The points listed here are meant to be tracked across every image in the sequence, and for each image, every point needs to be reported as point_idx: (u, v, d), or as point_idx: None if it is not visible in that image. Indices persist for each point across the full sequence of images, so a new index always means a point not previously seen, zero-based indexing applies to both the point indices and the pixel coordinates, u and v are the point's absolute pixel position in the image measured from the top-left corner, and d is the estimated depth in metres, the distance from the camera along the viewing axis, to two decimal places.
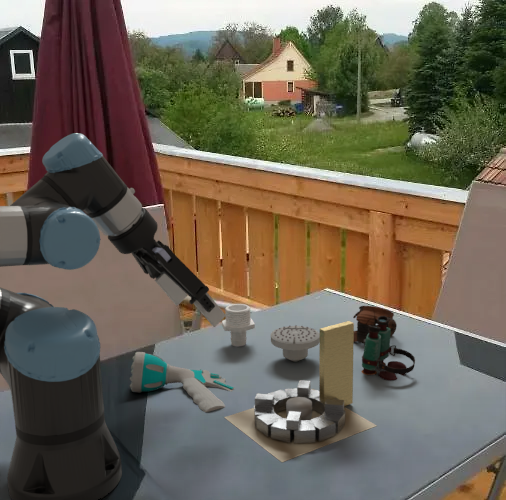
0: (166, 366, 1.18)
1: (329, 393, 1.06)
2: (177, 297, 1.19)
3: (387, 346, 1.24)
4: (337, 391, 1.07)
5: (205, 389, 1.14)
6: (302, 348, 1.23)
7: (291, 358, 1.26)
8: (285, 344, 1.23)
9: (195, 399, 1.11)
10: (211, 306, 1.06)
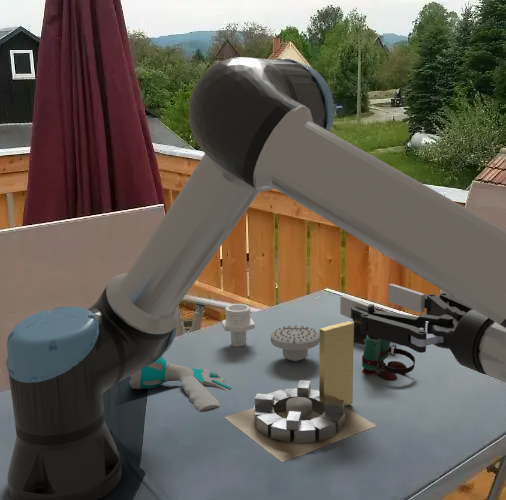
0: (166, 364, 1.19)
1: (329, 393, 1.06)
2: (394, 292, 0.98)
3: (387, 346, 1.24)
4: (337, 391, 1.07)
5: (202, 388, 1.15)
6: (302, 348, 1.23)
7: (291, 358, 1.26)
8: (285, 344, 1.23)
9: (191, 397, 1.12)
10: (353, 315, 0.91)
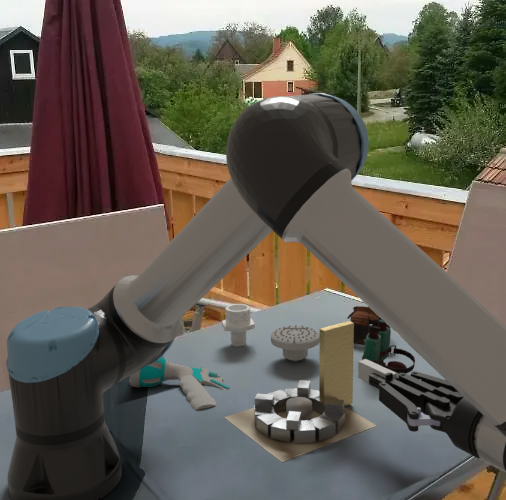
0: (165, 363, 1.20)
1: (329, 393, 1.06)
2: None
3: (387, 346, 1.24)
4: (337, 391, 1.07)
5: (200, 387, 1.15)
6: (302, 348, 1.23)
7: (291, 358, 1.26)
8: (285, 344, 1.23)
9: (188, 396, 1.12)
10: (370, 381, 0.96)
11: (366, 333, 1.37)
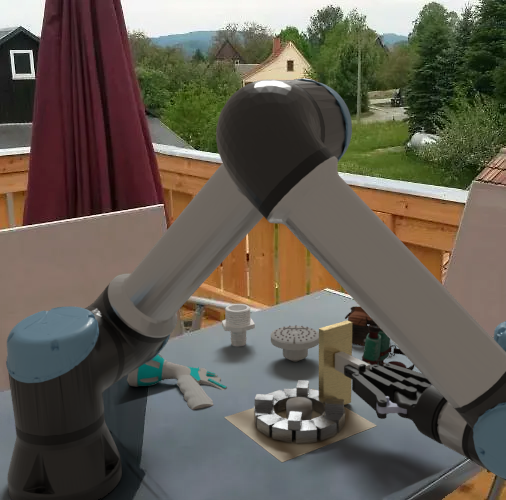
0: (163, 362, 1.20)
1: (328, 393, 1.06)
2: None
3: (387, 346, 1.24)
4: (336, 390, 1.07)
5: (197, 387, 1.15)
6: (302, 348, 1.23)
7: (291, 358, 1.26)
8: (285, 344, 1.23)
9: (185, 396, 1.13)
10: (345, 372, 1.02)
11: (364, 333, 1.37)
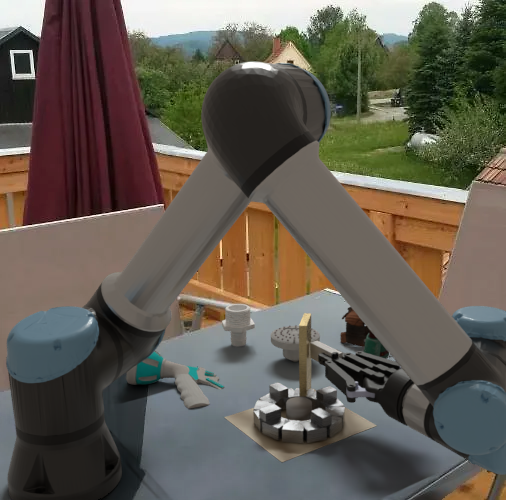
0: (162, 361, 1.21)
1: (307, 386, 1.09)
2: None
3: None
4: (308, 382, 1.10)
5: (195, 386, 1.16)
6: None
7: (291, 358, 1.26)
8: (285, 344, 1.23)
9: (182, 395, 1.13)
10: (319, 360, 1.06)
11: (361, 333, 1.36)
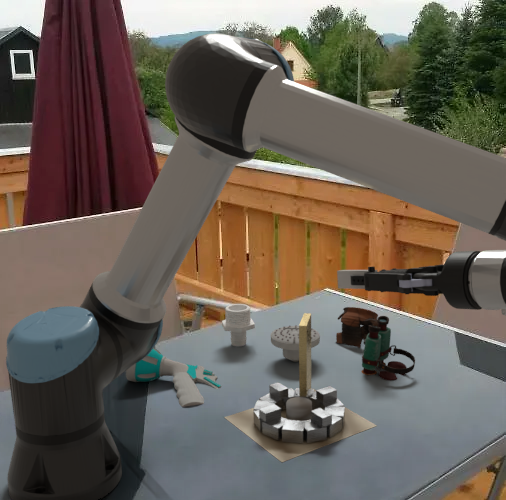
0: (161, 359, 1.22)
1: (307, 386, 1.09)
2: None
3: (387, 346, 1.24)
4: (308, 382, 1.10)
5: (191, 384, 1.16)
6: None
7: (291, 358, 1.26)
8: (285, 344, 1.23)
9: (178, 393, 1.14)
10: (353, 281, 0.98)
11: (357, 334, 1.36)
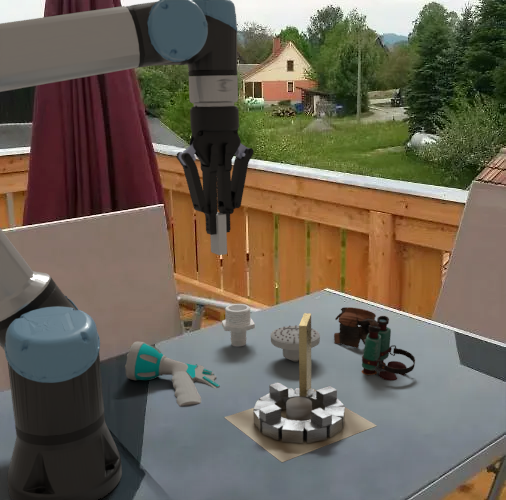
0: (161, 358, 1.22)
1: (307, 386, 1.09)
2: None
3: (387, 346, 1.24)
4: (308, 382, 1.10)
5: (190, 384, 1.17)
6: None
7: (291, 358, 1.26)
8: (285, 344, 1.23)
9: (176, 392, 1.14)
10: (208, 230, 1.06)
11: (354, 334, 1.36)
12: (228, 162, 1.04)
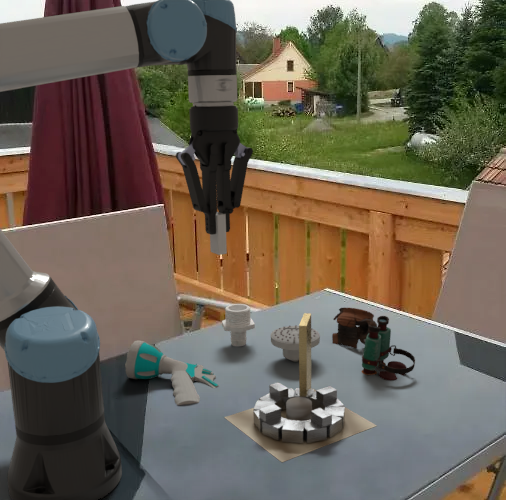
0: (161, 357, 1.23)
1: (307, 386, 1.09)
2: None
3: (387, 346, 1.24)
4: (308, 382, 1.10)
5: (189, 383, 1.17)
6: None
7: (291, 358, 1.26)
8: (285, 344, 1.23)
9: (174, 391, 1.14)
10: (208, 230, 1.06)
11: (353, 334, 1.36)
12: (228, 162, 1.04)
